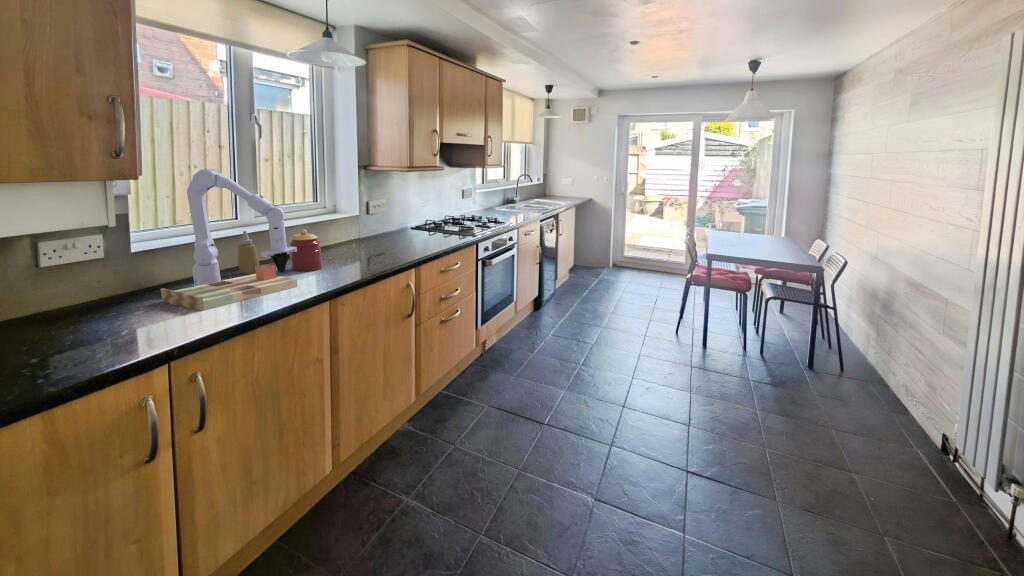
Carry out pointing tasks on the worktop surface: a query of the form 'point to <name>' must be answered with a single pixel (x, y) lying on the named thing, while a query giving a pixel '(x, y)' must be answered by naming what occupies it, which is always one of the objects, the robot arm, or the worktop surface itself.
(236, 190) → the robot arm
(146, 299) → the worktop surface
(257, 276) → the block
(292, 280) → the board
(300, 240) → the canister
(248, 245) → the squeeze bottle
